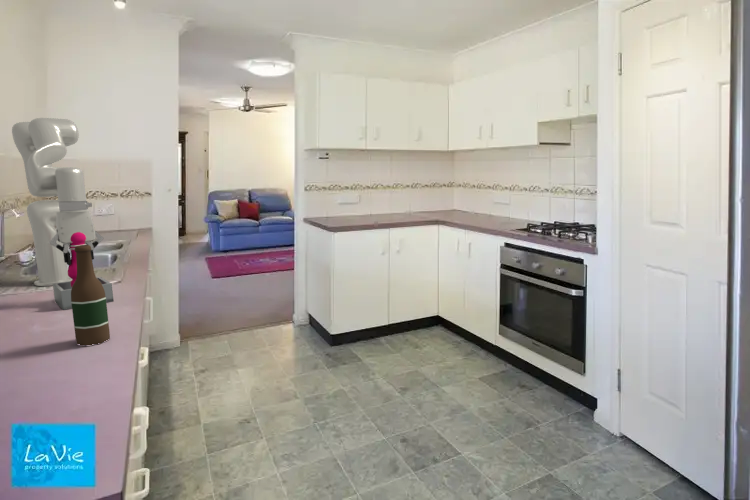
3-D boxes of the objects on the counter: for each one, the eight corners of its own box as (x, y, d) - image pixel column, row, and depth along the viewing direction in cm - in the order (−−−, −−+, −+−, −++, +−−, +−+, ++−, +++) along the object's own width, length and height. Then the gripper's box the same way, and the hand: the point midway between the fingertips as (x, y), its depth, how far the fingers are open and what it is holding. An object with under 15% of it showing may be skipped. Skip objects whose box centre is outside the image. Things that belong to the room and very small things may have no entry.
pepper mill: (83, 288, 150) (75, 225, 147) (63, 287, 152) (56, 225, 148) (100, 283, 157) (93, 223, 154) (81, 282, 159) (74, 222, 155)
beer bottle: (101, 333, 123) (91, 242, 119) (117, 339, 119) (107, 244, 115) (69, 342, 117) (57, 246, 113) (84, 349, 113) (72, 249, 109)
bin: (54, 301, 156) (52, 283, 155) (102, 293, 165) (100, 276, 164) (63, 310, 146) (60, 291, 145) (113, 301, 155) (111, 283, 154)
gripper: (100, 205, 159) (106, 258, 162) (38, 208, 147) (46, 265, 150) (106, 206, 153) (112, 261, 156) (42, 209, 142) (50, 268, 145)
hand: (79, 262), depth 153 cm, fingers closed on pepper mill, 5 cm apart
